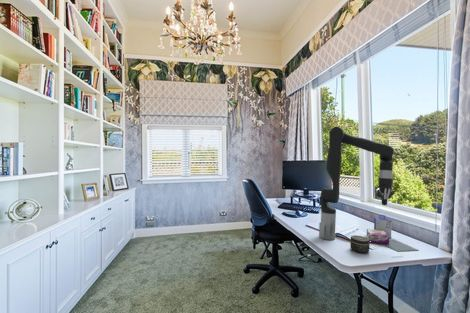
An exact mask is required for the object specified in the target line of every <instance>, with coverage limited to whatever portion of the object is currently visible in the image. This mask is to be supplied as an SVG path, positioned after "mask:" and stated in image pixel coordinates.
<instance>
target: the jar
mask: <svg viewBox="0 0 470 313" xmlns="http://www.w3.org/2000/svg"><path fill="white" fill-rule="evenodd" d="M349 241H350V244H349V245H350V247H349V248H350V250H351V251H352V252H354V253H355V254H356V253H357V254H361V255H367V254H368V253H369V252H370V244H371V242H370V240H369V239H368V237H367V236H366V237H365V236H362V235H356V234H355V235H351V236H350V240H349Z"/></svg>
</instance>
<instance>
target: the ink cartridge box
mask: <svg viewBox="0 0 470 313" xmlns="http://www.w3.org/2000/svg"><path fill="white" fill-rule="evenodd" d="M378 215H379V217H373V229H374V230H383V231H385V232H386V234H387V235H388V236H389V239H392V227H393V226H392V224H393V223H392V219H389V218H386V215H384V214H383V215H382V214H378Z"/></svg>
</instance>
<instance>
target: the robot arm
mask: <svg viewBox="0 0 470 313" xmlns="http://www.w3.org/2000/svg"><path fill="white" fill-rule="evenodd" d="M328 133H329V145H328V146H329V147H328V152H327V156H326V165H325V166H326V172H327V174H328V176H329V178H330V179H331V184H332V188H328V187H323V188H321V192H320V209H321V210H320V222H319V223H318V225H319V226H318V237H319V238H321V240H322V239H323V240H326V241H334V240H335V239H336V222H337V221H336V219H337V209H336V208H335V207H334V206H331V204H337V203H338V202H339V199H340V183H341V182H340V180H341V171H342V170H341V169H342V161H343V160H342V144H345V145H349V146H353V147H356V148H359V149H360V150H361V149H362V150H364V151H367V152H370V153H374V154H378V155H379V170H378V180H377V182H378V187H377V189H374V192H375V194H376V195H377V196H378V197H377V198H380V199H381V205H383V206H387V205H388V200H389V199H391V198H393V196H394V194H395V193H396V190H394V189H393V185H394V184H393V180H394V173H393V172H394V171H393V168H394V167H393V166H394V163H393V156H394V153H395V150H394V147H392V146H391V145H388V144H385V143H380V142H376V141H374V140H371V139H367V138H363V137H358V136H353V135H351V134H348V133H346V132H344V129H342V127H340V126H334V127H332V128H331V129H330V130H329V132H328ZM329 203H330V204H329Z"/></svg>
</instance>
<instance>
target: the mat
mask: <svg viewBox="0 0 470 313" xmlns="http://www.w3.org/2000/svg"><path fill="white" fill-rule="evenodd" d="M384 245H385V246H384ZM384 245H383V246H384V247H386V248H389V249H391V250H393V251H396V252H398V253H399V252H419V249H417V248H415V247H413V246H410V245H408V244H406V243H403V242H401V241H399V240H396V239H394V238H393V239H392V238H389V244H384Z"/></svg>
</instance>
